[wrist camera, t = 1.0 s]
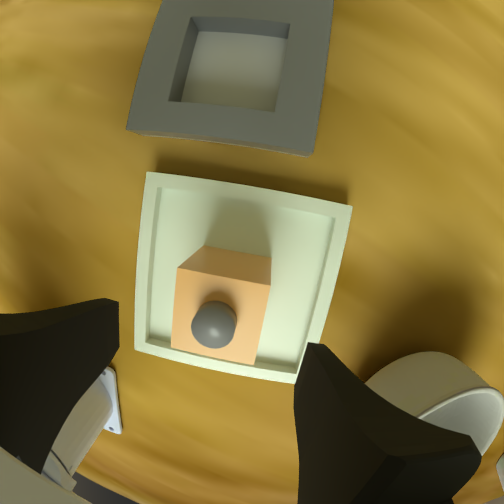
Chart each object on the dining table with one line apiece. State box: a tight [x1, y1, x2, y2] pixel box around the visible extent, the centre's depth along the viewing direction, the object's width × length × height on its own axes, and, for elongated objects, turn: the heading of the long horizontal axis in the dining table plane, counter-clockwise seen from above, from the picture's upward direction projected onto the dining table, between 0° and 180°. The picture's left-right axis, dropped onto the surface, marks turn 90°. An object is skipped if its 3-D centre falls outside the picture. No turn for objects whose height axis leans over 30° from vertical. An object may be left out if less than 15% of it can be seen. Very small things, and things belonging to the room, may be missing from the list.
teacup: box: [365, 351, 504, 455], centre depth 16 cm, size 14×11×8 cm
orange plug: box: [171, 245, 272, 365], centre depth 15 cm, size 4×4×6 cm
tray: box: [135, 172, 353, 384], centre depth 18 cm, size 12×12×1 cm
